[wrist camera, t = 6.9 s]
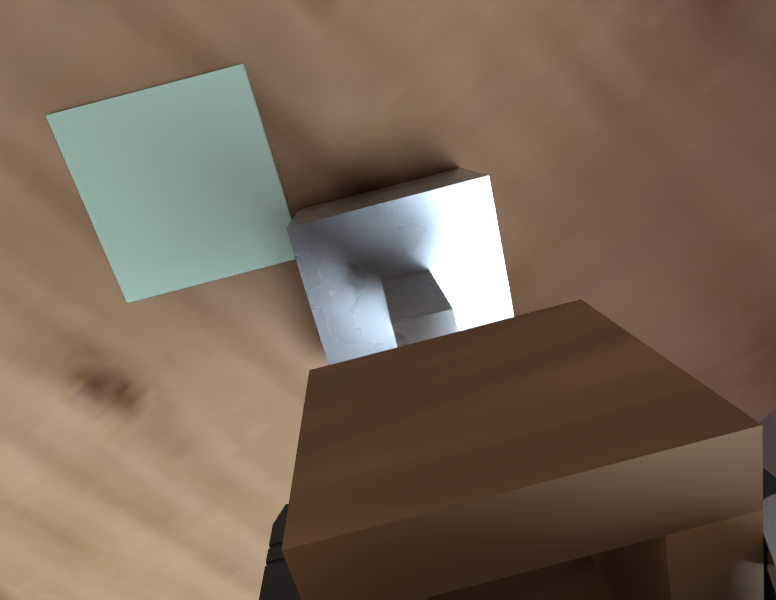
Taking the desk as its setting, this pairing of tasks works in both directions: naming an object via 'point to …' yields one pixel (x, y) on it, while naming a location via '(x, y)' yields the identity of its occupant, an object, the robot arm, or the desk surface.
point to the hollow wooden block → (524, 472)
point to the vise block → (402, 263)
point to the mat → (178, 182)
